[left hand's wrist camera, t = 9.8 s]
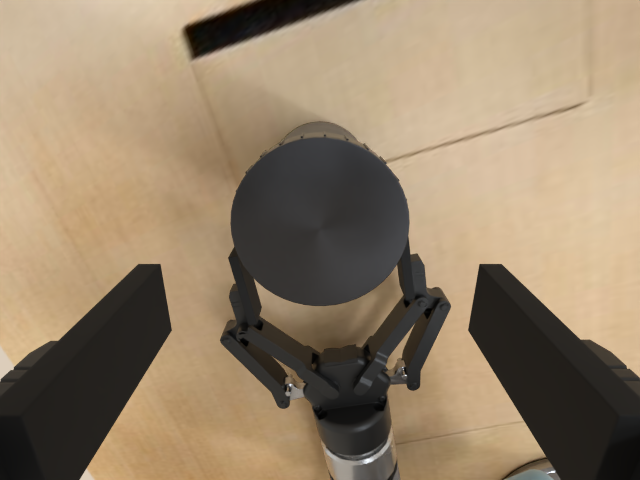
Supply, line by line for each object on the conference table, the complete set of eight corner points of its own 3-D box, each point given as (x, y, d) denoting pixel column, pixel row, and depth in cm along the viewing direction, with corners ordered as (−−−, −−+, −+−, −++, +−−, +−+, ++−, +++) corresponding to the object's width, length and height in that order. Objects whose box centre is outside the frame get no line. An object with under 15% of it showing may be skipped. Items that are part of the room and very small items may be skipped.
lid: (226, 137, 21) (214, 143, 19) (402, 125, 21) (413, 129, 18) (250, 291, 24) (243, 311, 22) (401, 281, 24) (409, 301, 22)
